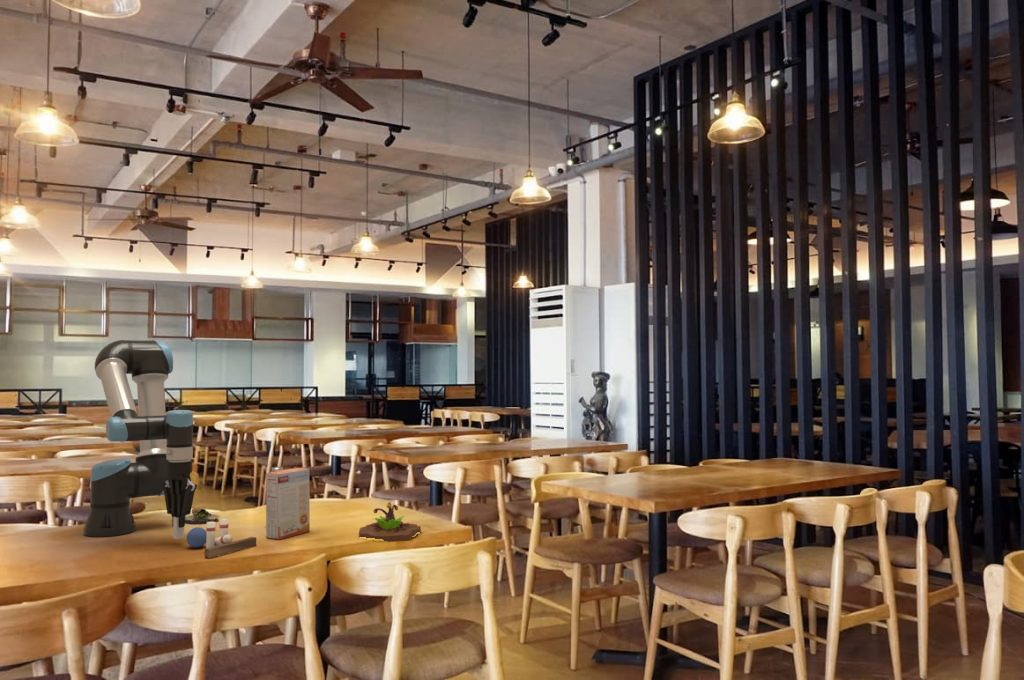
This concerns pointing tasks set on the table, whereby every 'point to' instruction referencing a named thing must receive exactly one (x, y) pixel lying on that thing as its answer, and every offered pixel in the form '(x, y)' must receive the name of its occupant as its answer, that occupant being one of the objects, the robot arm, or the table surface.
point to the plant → (389, 527)
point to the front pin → (223, 540)
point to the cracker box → (287, 503)
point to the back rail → (230, 547)
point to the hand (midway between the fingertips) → (178, 537)
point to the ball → (196, 537)
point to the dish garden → (200, 516)
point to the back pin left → (223, 527)
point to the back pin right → (210, 535)
